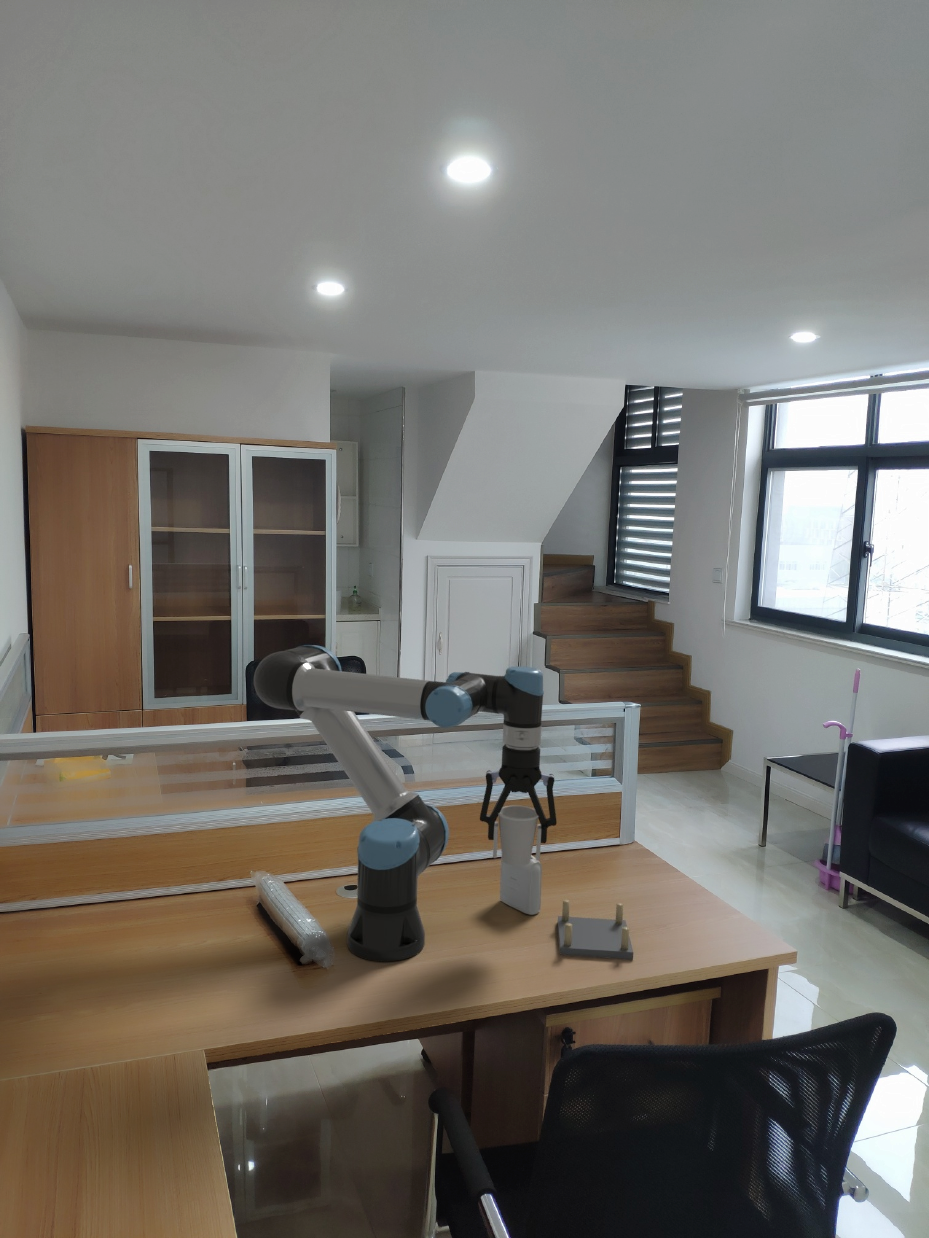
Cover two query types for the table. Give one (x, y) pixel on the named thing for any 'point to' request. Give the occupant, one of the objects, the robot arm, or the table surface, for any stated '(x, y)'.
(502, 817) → the dixie cup
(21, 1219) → the table surface
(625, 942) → the plate
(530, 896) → the photo printer
